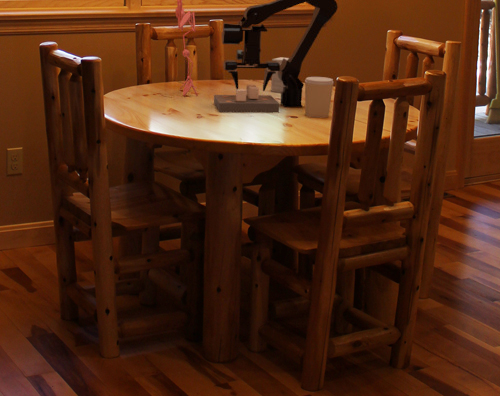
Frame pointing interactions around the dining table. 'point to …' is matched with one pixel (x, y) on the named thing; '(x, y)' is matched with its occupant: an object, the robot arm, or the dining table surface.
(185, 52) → the figurine
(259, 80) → the dining table surface
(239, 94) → the slider
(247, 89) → the slider
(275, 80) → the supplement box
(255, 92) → the slider
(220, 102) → the switch unit
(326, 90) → the coffee cup
